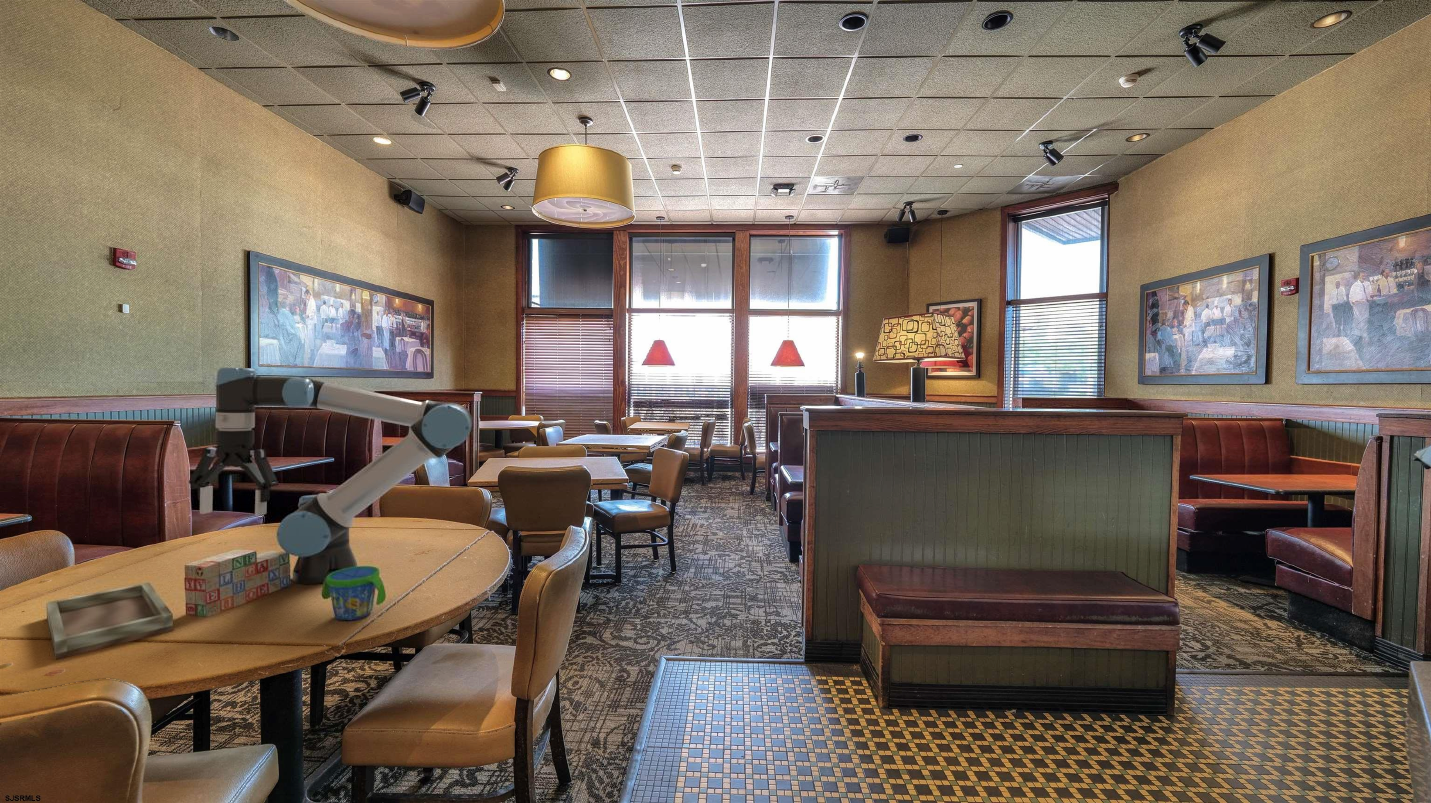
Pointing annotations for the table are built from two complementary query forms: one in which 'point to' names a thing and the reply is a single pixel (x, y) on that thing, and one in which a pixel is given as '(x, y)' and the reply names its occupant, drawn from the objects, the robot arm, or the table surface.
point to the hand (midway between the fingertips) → (233, 513)
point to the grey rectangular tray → (106, 619)
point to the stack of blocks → (233, 580)
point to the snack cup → (353, 591)
